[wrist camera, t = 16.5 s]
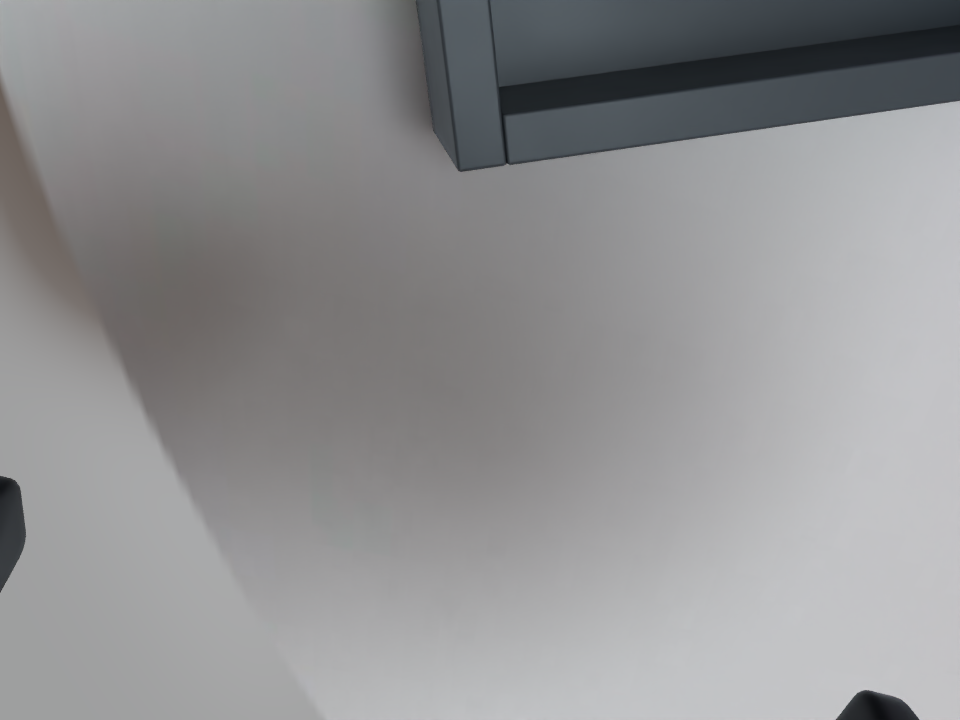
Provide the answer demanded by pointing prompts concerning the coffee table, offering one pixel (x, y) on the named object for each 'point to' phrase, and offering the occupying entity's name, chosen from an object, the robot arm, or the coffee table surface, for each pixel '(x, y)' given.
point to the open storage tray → (670, 69)
